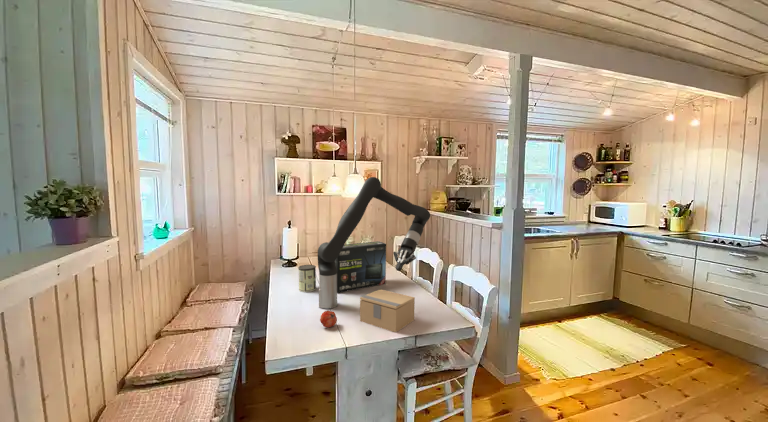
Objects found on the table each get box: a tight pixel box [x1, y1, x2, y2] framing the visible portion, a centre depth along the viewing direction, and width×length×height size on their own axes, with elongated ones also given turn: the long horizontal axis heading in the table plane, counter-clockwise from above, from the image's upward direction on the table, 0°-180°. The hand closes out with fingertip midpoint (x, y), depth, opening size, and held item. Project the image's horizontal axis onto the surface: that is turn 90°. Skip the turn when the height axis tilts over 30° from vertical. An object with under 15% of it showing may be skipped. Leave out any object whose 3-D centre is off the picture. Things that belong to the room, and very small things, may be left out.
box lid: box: [359, 288, 416, 309], centre depth 153 cm, size 16×20×1 cm
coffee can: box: [297, 264, 317, 293], centre depth 198 cm, size 10×10×14 cm
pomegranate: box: [319, 310, 338, 329], centre depth 147 cm, size 7×7×10 cm
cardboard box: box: [359, 299, 415, 333], centre depth 153 cm, size 16×20×10 cm
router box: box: [335, 240, 387, 294], centre depth 204 cm, size 36×11×27 cm, turn 123°
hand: (397, 270), depth 158 cm, fingers closed
